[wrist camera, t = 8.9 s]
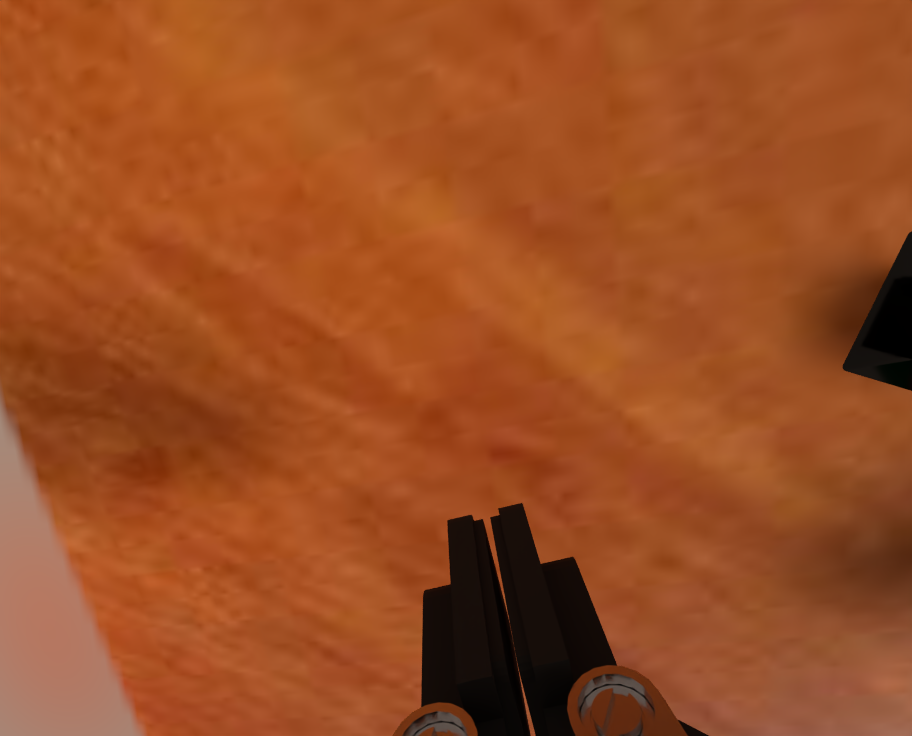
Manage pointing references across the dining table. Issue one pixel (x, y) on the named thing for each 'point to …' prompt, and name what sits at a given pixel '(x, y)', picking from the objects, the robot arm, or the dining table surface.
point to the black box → (888, 329)
